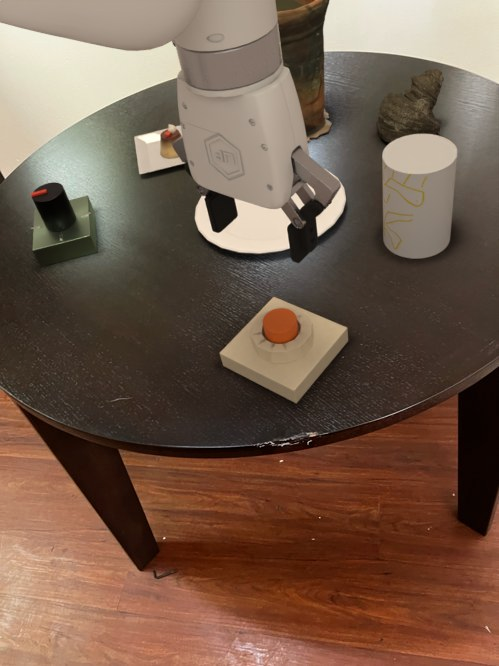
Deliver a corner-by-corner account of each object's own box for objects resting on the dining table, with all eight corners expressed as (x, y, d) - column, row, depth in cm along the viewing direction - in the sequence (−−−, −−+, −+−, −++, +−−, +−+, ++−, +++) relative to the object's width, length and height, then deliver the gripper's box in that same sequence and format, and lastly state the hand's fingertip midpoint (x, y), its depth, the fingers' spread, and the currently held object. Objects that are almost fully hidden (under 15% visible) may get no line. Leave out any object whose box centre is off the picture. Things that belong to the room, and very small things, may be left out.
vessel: (340, 96, 108) (332, -33, 94) (335, 143, 99) (325, 7, 84) (256, 103, 111) (235, -21, 97) (243, 149, 102) (219, 18, 87)
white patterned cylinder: (370, 232, 83) (368, 150, 75) (424, 209, 85) (428, 126, 76) (407, 267, 78) (409, 183, 69) (464, 241, 79) (473, 156, 71)
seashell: (467, 110, 88) (463, 74, 94) (392, 71, 85) (393, 36, 92) (418, 171, 96) (417, 134, 103) (349, 137, 94) (352, 101, 100)
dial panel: (99, 251, 90) (91, 233, 87) (38, 267, 89) (29, 250, 87) (96, 211, 96) (89, 193, 94) (40, 225, 96) (31, 208, 94)
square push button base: (296, 403, 67) (292, 379, 64) (222, 365, 72) (215, 341, 69) (348, 341, 71) (346, 315, 68) (276, 309, 76) (271, 284, 73)
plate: (232, 163, 100) (230, 153, 98) (365, 175, 92) (364, 165, 91) (171, 249, 87) (168, 240, 86) (318, 272, 80) (316, 262, 78)
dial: (75, 208, 92) (61, 176, 89) (77, 225, 89) (63, 194, 86) (45, 217, 92) (30, 185, 88) (46, 234, 89) (30, 203, 85)
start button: (285, 348, 67) (283, 337, 66) (258, 336, 69) (255, 324, 68) (305, 326, 69) (303, 315, 68) (278, 314, 71) (275, 303, 69)
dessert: (141, 180, 100) (132, 153, 97) (135, 142, 109) (127, 116, 105) (216, 161, 101) (210, 134, 97) (205, 125, 109) (199, 98, 106)
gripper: (114, 59, 50) (169, 234, 63) (297, 99, 41) (319, 294, 54) (178, 19, 54) (218, 192, 66) (359, 48, 45) (366, 242, 57)
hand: (263, 238), depth 60 cm, fingers open, 8 cm apart
